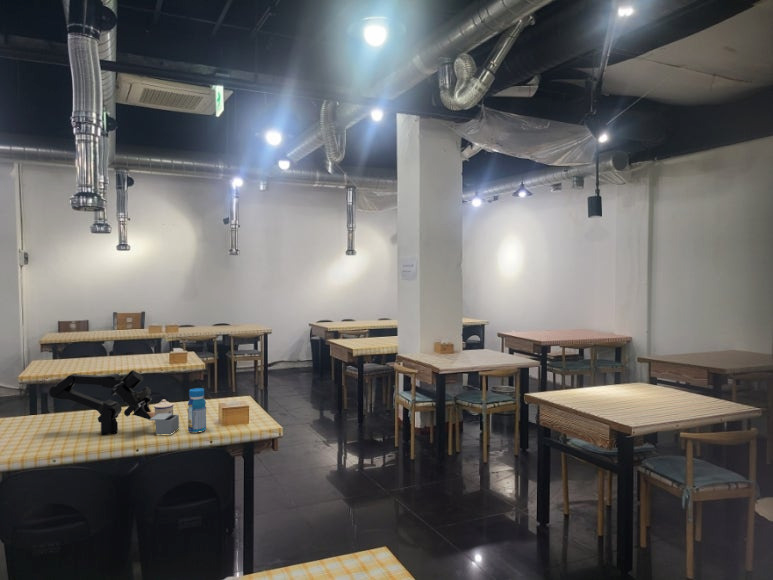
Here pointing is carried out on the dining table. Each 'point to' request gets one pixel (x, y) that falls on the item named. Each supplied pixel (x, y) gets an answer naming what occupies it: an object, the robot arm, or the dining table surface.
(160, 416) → the lid
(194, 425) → the beverage bottle
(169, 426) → the carton
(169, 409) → the teacup with lid
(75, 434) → the dining table surface
